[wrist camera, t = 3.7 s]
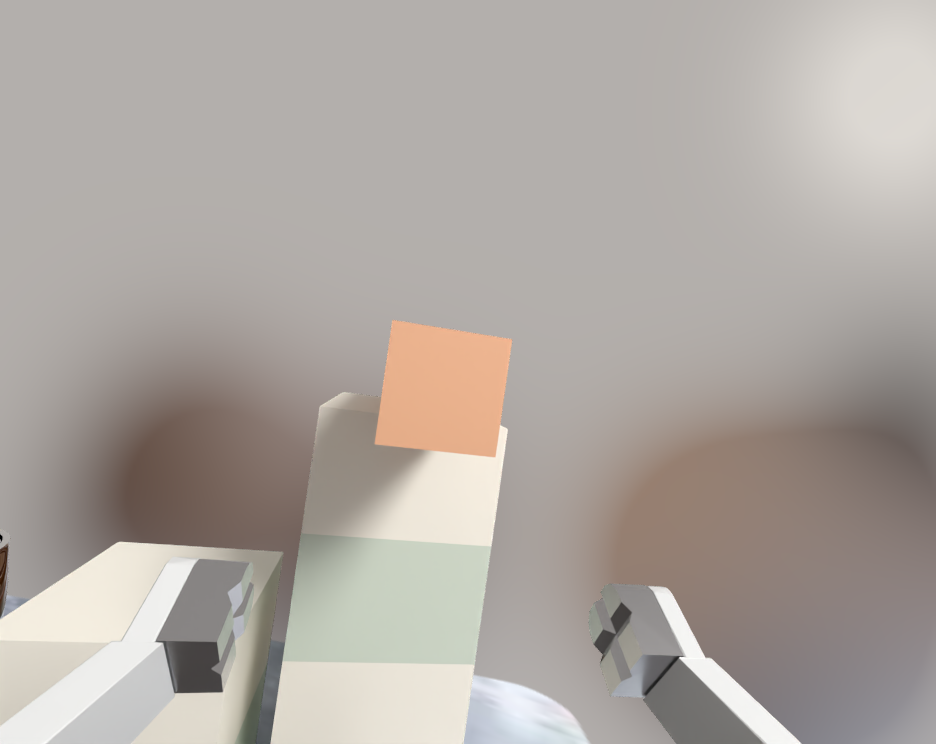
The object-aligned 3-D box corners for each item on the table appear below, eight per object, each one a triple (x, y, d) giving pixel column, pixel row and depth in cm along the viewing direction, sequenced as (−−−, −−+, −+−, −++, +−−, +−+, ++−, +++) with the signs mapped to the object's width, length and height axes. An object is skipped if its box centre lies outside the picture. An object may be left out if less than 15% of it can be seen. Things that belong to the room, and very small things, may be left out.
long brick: (495, 457, 14) (512, 339, 15) (374, 444, 14) (392, 319, 14) (433, 404, 34) (440, 354, 34) (382, 397, 33) (389, 346, 33)
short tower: (182, 978, 19) (231, 645, 20) (-88, 1008, 18) (-31, 639, 18) (251, 772, 29) (283, 552, 29) (83, 777, 27) (118, 541, 28)
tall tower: (440, 902, 24) (507, 429, 24) (244, 919, 22) (319, 406, 22) (422, 723, 35) (467, 408, 36) (294, 724, 34) (343, 392, 34)
